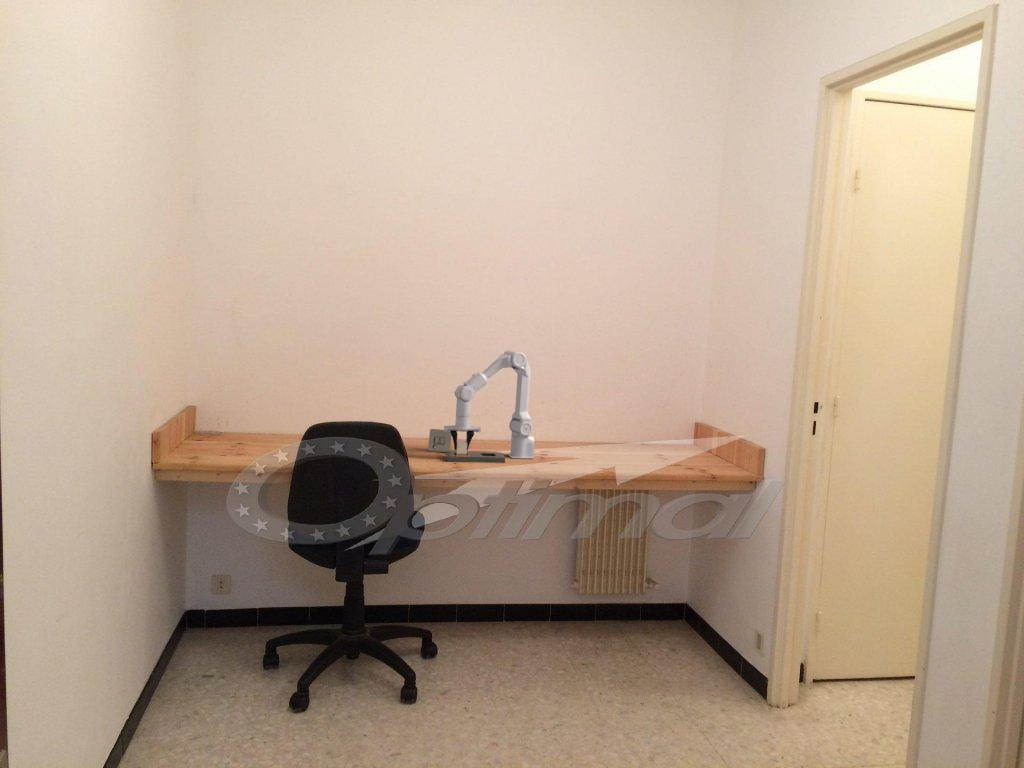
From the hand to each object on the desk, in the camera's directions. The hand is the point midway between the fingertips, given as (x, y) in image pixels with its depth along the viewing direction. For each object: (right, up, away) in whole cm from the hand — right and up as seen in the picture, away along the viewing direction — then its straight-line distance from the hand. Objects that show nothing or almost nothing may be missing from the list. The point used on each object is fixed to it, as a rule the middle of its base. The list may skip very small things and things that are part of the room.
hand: (461, 449), depth 314 cm
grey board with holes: (+5, -4, +1) cm, 7 cm away
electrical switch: (-10, -2, +15) cm, 18 cm away
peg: (0, -3, 0) cm, 3 cm away
